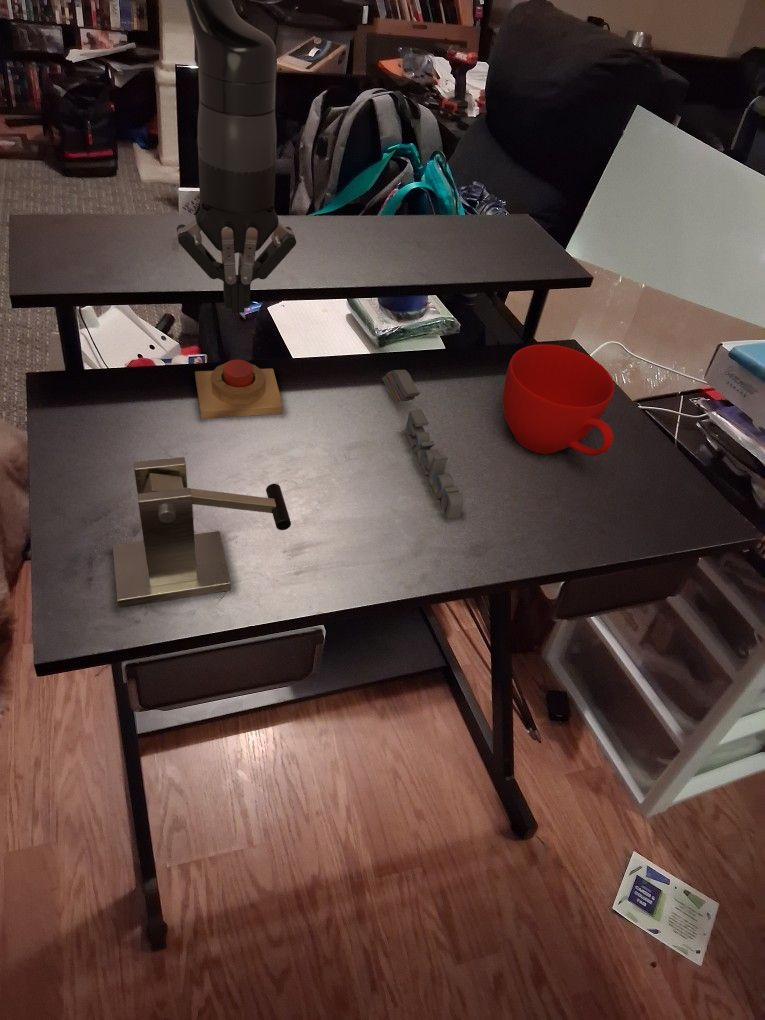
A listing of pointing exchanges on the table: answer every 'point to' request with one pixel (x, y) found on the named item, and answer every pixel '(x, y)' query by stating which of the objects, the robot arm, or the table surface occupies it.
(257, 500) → the lever
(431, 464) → the block letters
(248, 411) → the switch block
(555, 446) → the ceramic cup
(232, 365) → the button
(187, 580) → the bracket
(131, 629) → the table surface
